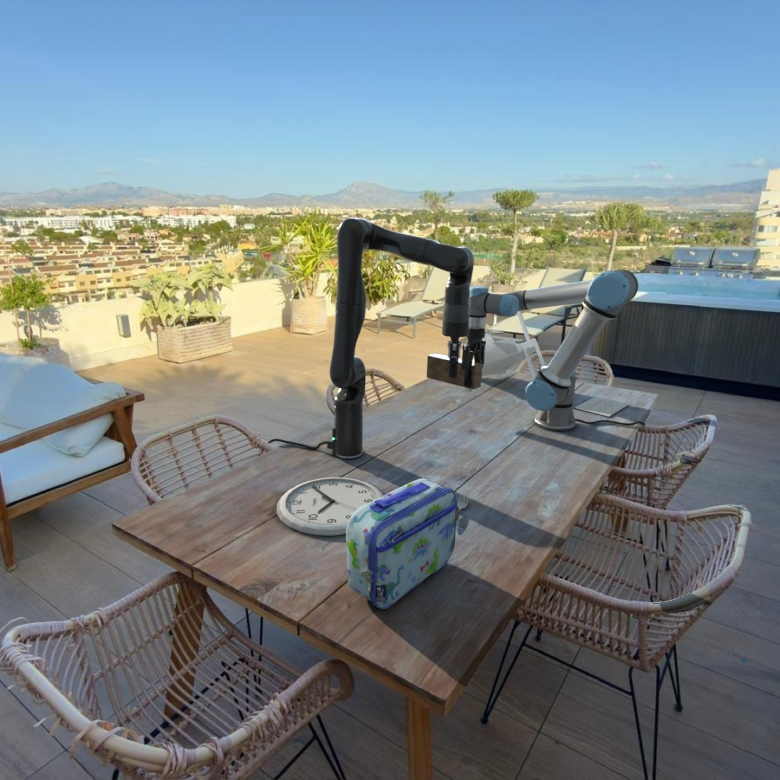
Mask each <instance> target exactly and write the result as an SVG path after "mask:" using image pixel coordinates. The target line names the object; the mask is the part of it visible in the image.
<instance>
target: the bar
mask: <svg viewBox="0 0 780 780" xmlns="http://www.w3.org/2000/svg"><path fill="white" fill-rule="evenodd" d="M449 361H450V358H448V355H445V354H440V353H432V354H428V355H427V361H426V378H427V379H429V380H430V379H431V380H435V381H439V382H443V383H446V384H449V385H454V386H458V387H462V388H466V389H469V390H476V389H478V388H481V387H482V386H481V385H482V377H483V376H482V365H483V364H481V363H477V362H472V366H471V370H470V371H472V375H471V387H466V386H464V374H465V371H464V370H462V369H461V366H462V358H458V362H459V364H458V365H457V377H456V378H450V377H449V367H450V365H449Z"/></svg>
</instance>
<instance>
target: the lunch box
mask: <svg viewBox="0 0 780 780" xmlns="http://www.w3.org/2000/svg"><path fill="white" fill-rule="evenodd" d="M456 498H457V496H456V493H455V491H454V489H452V488H450V487H443V486H441V485H439V484H438V483H436V482H433V481H432V480H430V479H427V478H423V477H422V478H418V479H416V480H413V481H411V482H409V483H406V484H405V485H402V486H400V487H398V488H396V489H394V490H392V491H390V492H388V493H386V494H384V496H382V497H380V498H378V499H376V500H374V501H372V502H370V503H368V504H366V505H364V506H362V507H360V508H358V509H357V510H356V511H355V512H354V513H353V514H352V515H351V517H350V519H349V521H348V524H347V528H346V534H345V547H346V549H345V550H346V572H347V573H346V575H347V584H348V587H349V589H350V590H351V591H353V592H355V593H357V594H358V595H361V596H363V597H364V598H365V599H367V600H368V601H369V602H371V604H372V605H373V606H374V607H376V608H377V609H380V610H386V609H389V608H391V607H393V605H395V603H397V602H398V601H399V600H400V599H402V598H403V597H404V596H405V595H408V593H410V592H411V591H412V590H413V589H415V588H416V587H417V586H419V585H420V584H421V583H423V581H424V580H425V579H427V578H428V577H430V576H431V575H433V574H435V573H437V572H438V571H439V570H441V569H442V568H443V567H444V566H446V564H447V563H448V562H449V560H450V559H451V556H452V555H453V552H454V548H455V544H456V531H457V530H456V529H457V520H456V512H457V499H456Z"/></svg>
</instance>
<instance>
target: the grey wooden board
mask: <svg viewBox="0 0 780 780" xmlns="http://www.w3.org/2000/svg"><path fill="white" fill-rule="evenodd" d="M628 406H629V404H627V403H623V402H618V401H614V400H609V399H605V398H601V397H596V396H593V397H592V398H590V399H588V400H586V401H584V402H582V403H580V404H578V405H575V406H574V407H573V409H575V410H581V411H584V412H587V413H593V414H596V415H600V416H604V417H608V418H609V417H611V416H613V415H614V414H616V413H617V412H619V411H621V410H623V409H624V408H626V407H628Z"/></svg>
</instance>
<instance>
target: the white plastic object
mask: <svg viewBox="0 0 780 780" xmlns="http://www.w3.org/2000/svg"><path fill="white" fill-rule="evenodd" d="M516 315H517V316H518V320H519V323H520V326H521V329H522V332H523V335H524V338H525V341H524V342H521V343H516V340H515V339H514V337H507V338H504V339H499V340H498V339H497V340H494V339H493V338H492V337H491V335H490V334H489V333H485V337H484V338H482V341H486V345H485V357H484V365H482V366H483V368H482V377H485V376H495V375H496V376H497V377H498V376H501V375H504V374H507V370H509V369H511V368H512V367H513V366H515V365H516V364H517V363H519V362H521V361H522V360H523V359H524V358H525V360H526V363H527V366H528V370H529V372H530V375H531V379H532V381H533V380H534V379H535V378H536V376H537V374H536V370H535V368H534V364H533V361H532V358H531V354H533V353H536V355H537V358H538V360H539V364H540V367H541V368H542V367H543V366H547V365H546V362H545V360H544V356H543V354H542V351H541V348H540V345H539V343H538V341H537V339H536V337H533V338H531V337H530V334H529V332H528V328H527V324H526V321H525V319H524V315H523V313H522V311H518V312H517V313H516ZM472 362H475V361H474V358H473V361H472ZM481 362H482V361H481Z"/></svg>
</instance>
